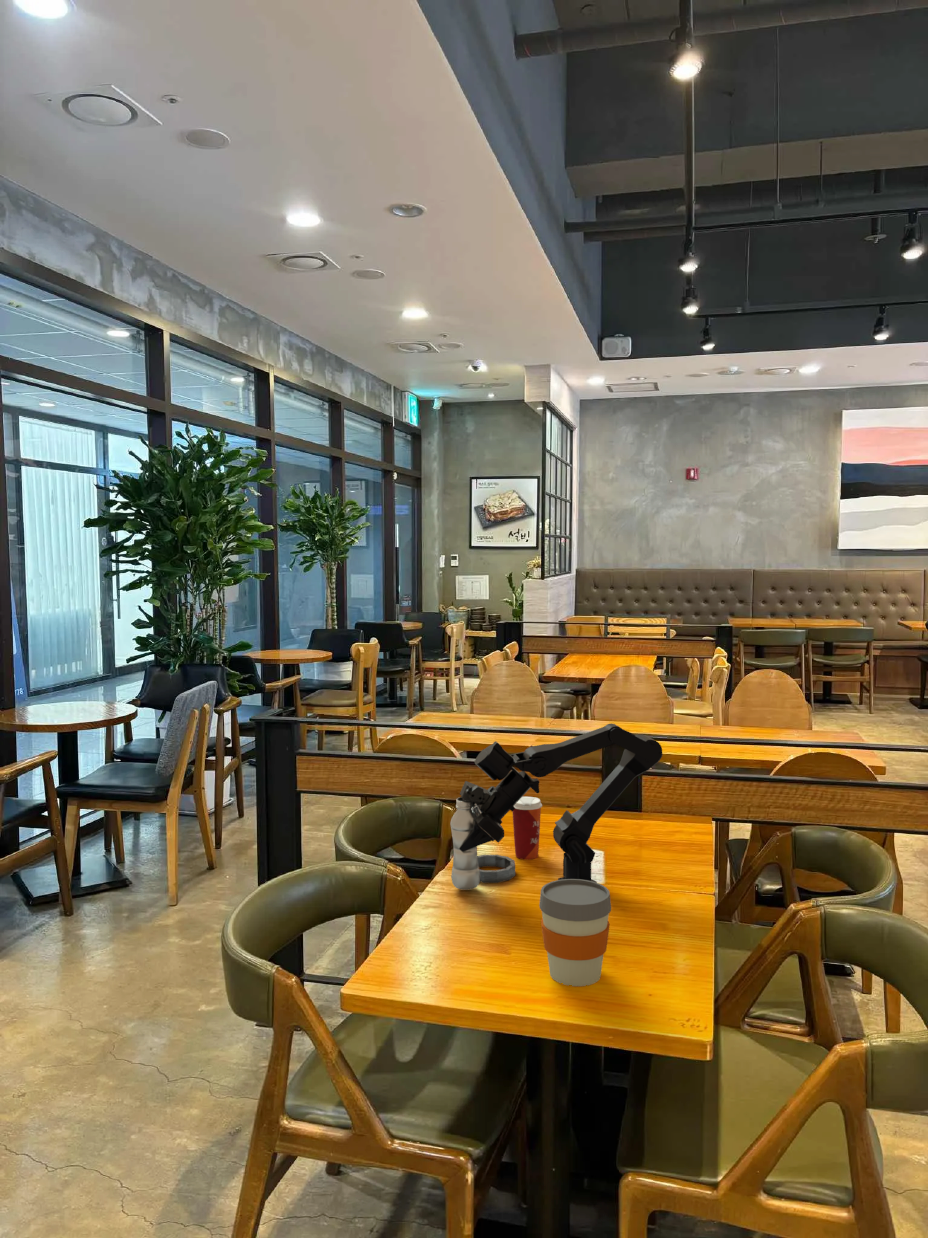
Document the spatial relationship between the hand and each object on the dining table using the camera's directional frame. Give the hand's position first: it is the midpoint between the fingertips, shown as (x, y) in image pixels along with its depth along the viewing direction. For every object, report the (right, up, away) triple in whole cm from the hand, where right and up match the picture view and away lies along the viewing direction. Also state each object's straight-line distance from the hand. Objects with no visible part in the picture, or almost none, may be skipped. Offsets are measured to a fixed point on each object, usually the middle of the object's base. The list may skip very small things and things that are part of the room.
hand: (458, 845), depth 194 cm
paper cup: (+17, -9, +23) cm, 30 cm away
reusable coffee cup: (+21, -13, -39) cm, 46 cm away
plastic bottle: (+2, -10, +1) cm, 10 cm away
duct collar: (+7, -9, +11) cm, 16 cm away
